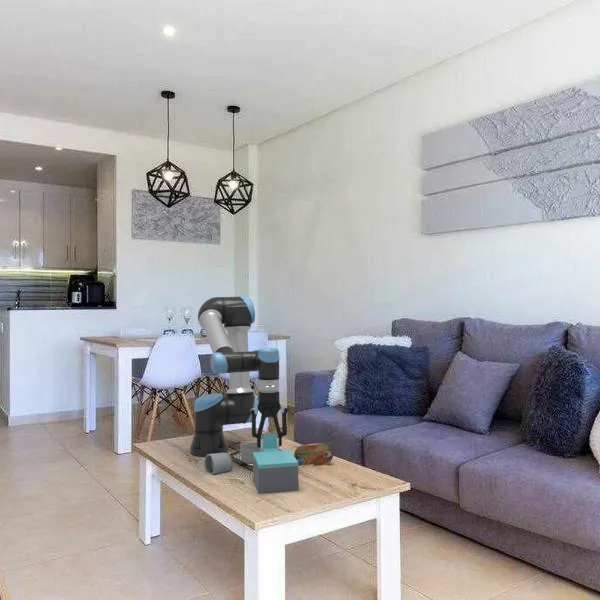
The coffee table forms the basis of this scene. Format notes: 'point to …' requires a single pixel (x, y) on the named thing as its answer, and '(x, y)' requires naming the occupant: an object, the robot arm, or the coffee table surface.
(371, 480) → the coffee table surface
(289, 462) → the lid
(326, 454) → the tin
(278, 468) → the tub
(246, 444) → the teacup
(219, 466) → the ceramic mug
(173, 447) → the coffee table surface
